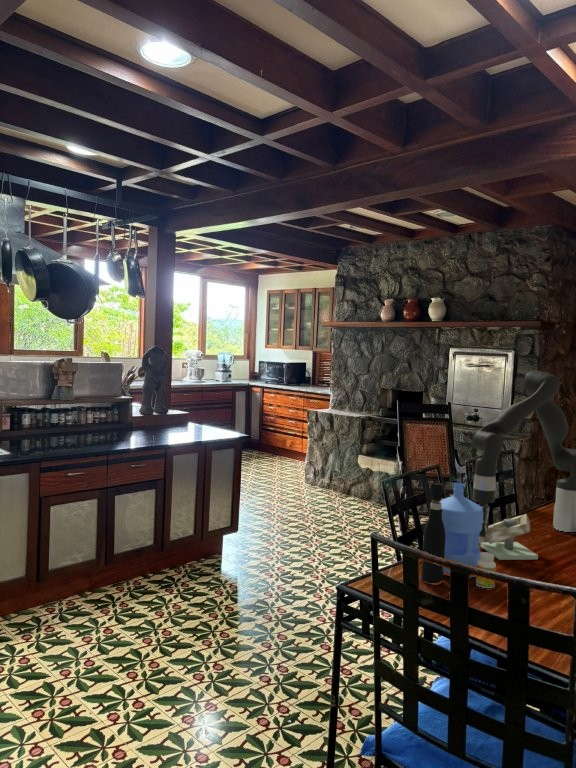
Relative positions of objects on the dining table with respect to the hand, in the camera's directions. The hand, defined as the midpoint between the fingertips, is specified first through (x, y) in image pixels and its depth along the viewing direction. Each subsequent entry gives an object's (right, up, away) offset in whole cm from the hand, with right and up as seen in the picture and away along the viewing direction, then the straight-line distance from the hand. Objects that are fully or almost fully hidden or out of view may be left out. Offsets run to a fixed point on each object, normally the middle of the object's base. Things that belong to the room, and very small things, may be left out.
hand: (481, 534), depth 210 cm
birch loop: (+7, +1, -3) cm, 7 cm away
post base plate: (+8, -5, -3) cm, 10 cm away
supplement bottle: (-11, -7, -35) cm, 37 cm away
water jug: (-16, -6, -23) cm, 28 cm away
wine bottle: (-26, -6, -33) cm, 42 cm away
